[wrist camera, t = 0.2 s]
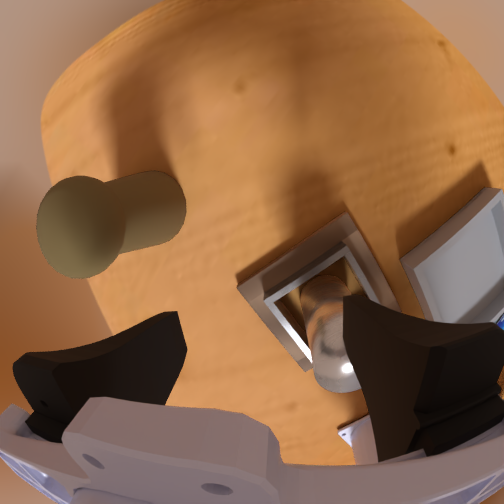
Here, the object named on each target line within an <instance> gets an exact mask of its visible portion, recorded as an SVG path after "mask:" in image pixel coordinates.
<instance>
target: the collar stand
mask: <svg viewBox="0 0 504 504" xmlns="http://www.w3.org/2000/svg"><path fill="white" fill-rule="evenodd" d="M341 257H343V258H344V259H345V261H346V263H347V264H348V266H349V268H350V269H351V271H352V273H353V274H354V276H355V278H356V279H357V281H358V283H359V284H360V286H361V288H362V290H363V291H364V293H365V295H366V296H367V298H368V299H370V300H372V301H374V302H376V303H378V304H380V305H383V306H385V307H387V308H390V309H392V310H395V311H397V312H400V313H401V312H402V311H401V309H400V307H399V305H398V303H397V301H396V299H395V297H394V295H393V293H392V291H391V289H390V287H389V285H388V283H387V281H386V279H385V277H384V275H383V273H382V271H381V270H380V268H379V266H378V264H377V262H376V260H375V259H374V257H373V255H372V253H371V251H370V250H369V248H368V246H367V244H366V243H365V241H364V239H363V237H362V236H361V234H360V232H359V231H358V229H357V227H356V226H355V224H354V222H353V221H352V219H351V218H350V216H349V214H348V213H347V212H343V213H342V214H340V215H339V216H338V217H336V218H335V219H333V220H332V221H330V222H329V223H327V224H326V225H325V226H323V227H322V228H320V229H319V230H317V231H316V232H314V233H313V234H312V235H310V236H309V237H307V238H306V239H304V240H303V241H301V242H300V243H298V244H297V245H295V246H294V247H293V248H291V249H290V250H288V251H287V252H285V253H284V254H282V255H281V256H279V257H278V258H276V259H275V260H273V261H272V262H270V263H269V264H267V265H266V266H264V267H263V268H261V269H260V270H258V271H257V272H255V273H254V274H252V275H251V276H249V277H248V278H246V279H245V280H243V281H242V282H240V283H239V284H238V285H237V289H238V291H239V292H240V293H241V294H242V296H243V297H244V298H245V299H246V301H247V302H248V303H249V304H250V306H251V307H252V308H253V309H254V311H255V312H256V313H257V315H258V316H259V317H260V318H261V319H262V321H263V322H264V323H265V324H266V326H267V327H268V328H269V329H270V331H271V332H272V333H273V334H274V336H275V337H276V338H277V339H278V340H279V342H280V343H281V344H282V345H283V346H284V348H285V349H286V350H287V351H288V353H289V354H290V355H291V356H292V357H293V359H294V360H295V361H296V362H297V363H298V364H299V366H300V367H301V368H302V369H303V370H304V372H306V371H308V370H310V369H312V368H313V364H312V359H311V353H310V348H309V343H308V338H307V335H306V333H305V332H304V331H303V329H302V328H301V327H300V325H299V324H298V323H297V321H296V320H295V319H294V317H293V316H292V315H291V313H290V312H289V311H288V309H287V308H286V307H285V305H284V304H283V303H282V301H281V300H280V299H279V298H281V297H282V296H284V295H286V294H287V293H289V292H290V291H292V290H293V289H295V288H296V287H298V286H300V285H301V284H303V283H304V282H306V281H307V280H309V279H310V278H312V277H313V276H315V275H316V274H318V273H319V272H321V271H322V270H324V269H325V268H327V267H328V266H330V265H331V264H333V263H334V262H336V261H337V260H339V259H340V258H341Z"/></svg>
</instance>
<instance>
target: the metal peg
mask: <svg viewBox="0 0 504 504" xmlns="http://www.w3.org/2000/svg"><path fill="white" fill-rule="evenodd" d="M348 295H352V294H351V292H350V291H349V289H348V288H347V286H346V285H345V283H344V282H343V281H342V280H341V279H339V278H338V277H335V276H332V275H321V276H317V277H315V278H313V279H312V280H310V281H309V282H308V283H307V284H306V285H305V287H304V288H303V290H302V292H301V297H300V302H301V308H302V313H303V317H304V322H305V327H306V333H307V338H308V343H309V348H310V353H311V359H312V364H313V370H314V375H315V378H316V381H317V382H318V384H319V385H320V386H321V387H323V388H324V389H326V390H328V391H331V392H337V393H346V392H352V391H355V390H358V389H361V386H360V384H359V381H358V379H357V377H356V374H355V372H354V370H353V368H352V365H351V363H350V360H349V358H348V356H347V352H346V349H345V345H344V341H343V296H348Z"/></svg>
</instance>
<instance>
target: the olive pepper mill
mask: <svg viewBox="0 0 504 504" xmlns="http://www.w3.org/2000/svg"><path fill="white" fill-rule="evenodd" d="M185 216H186V199H185V197H184V194H183V191H182V188H181V187H180V186H179V184H178V183H177V182H176V181H175V179H173V178H172V177H170V176H169V175H167V174H166V173H163V172H159V171H147V172H142V173H138V174H134V175H130V176H126V177H122V178H119V179H115V180H111V181H108V182H104V183H103V182H102V181H100V180H98V179H96V178H92V177H88V176H74V177H70V178H66V179H64V180H61V181H59V182H58V183H57V184H56V185H54V186H53V187H52V188H51V189H50V190H49V191H48V192H47V194H46V195H45V197H44V199H43V200H42V202H41V204H40V207H39V210H38V214H37V226H36V229H37V236H38V242H39V245H40V248H41V251H42V253H43V255H44V256H45V258H46V259H47V262H48V263H49V264H50V265H51V266H52V267H53V268H54V269H55V270H56V271H57V272H59V273H61V274H63V275H65V276H67V277H70V278H75V279H76V278H77V279H85V278H90V277H92V276H95V275H97V274H99V273H101V272H103V271H104V270H106V269H107V268H108V267H109V266H110V264H111V263H112V262H113V261H114V260H115V259H116V258H117V256H118V255H119V254H122V253H126V252H130V251H134V250H138V249H143V248H147V247H151V246H155V245H160V244H162V243H165V242H167V241H170V240H171V239H172V238H173V237H174V236H175V235H177V234H178V232H179V231H180V229H181V227H182V225H183V224H184V220H185Z"/></svg>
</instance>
